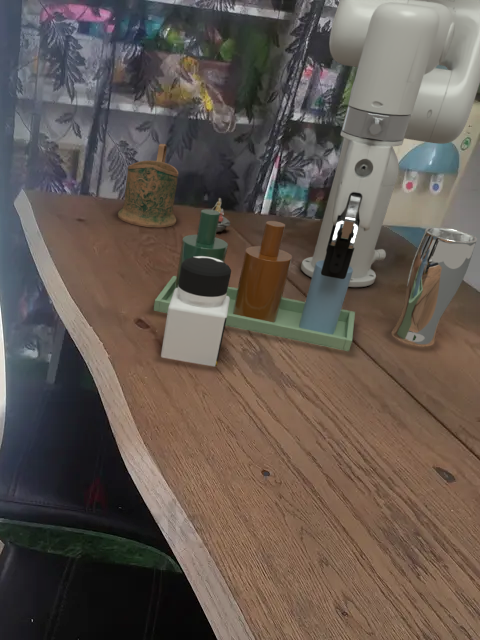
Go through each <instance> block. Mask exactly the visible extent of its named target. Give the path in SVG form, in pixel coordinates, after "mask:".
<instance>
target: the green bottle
mask: <svg viewBox="0 0 480 640" xmlns="http://www.w3.org/2000/svg"><path fill="white" fill-rule="evenodd" d="M219 216H220V213H219V212H218V211H215V209H213V210H212V209H209V208H208V209H206V208H205V209H201V211H200V216H199V222H198V225H197V226H198V227H197V233H196V234H188V235H185V236H183V237H182V241H181V246H180V253H179V260H178V266H177V272H176V276H177V277H176V284H175V289H176V288H178V283H179V277H180V271H181V265H182V262H183V261H185V260H186V259H188V258H192V257H196V256H205V257H212V258H216V259H219V260H221V261H223V262H224V263H225V262H226V258H227V257H226V256H227V253H228V252H227V251H228V247H229V244H228V242H227V241H225V240H224V239H221V238H218V237H217V233H218V232H217V227H218V221H219Z"/></svg>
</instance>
